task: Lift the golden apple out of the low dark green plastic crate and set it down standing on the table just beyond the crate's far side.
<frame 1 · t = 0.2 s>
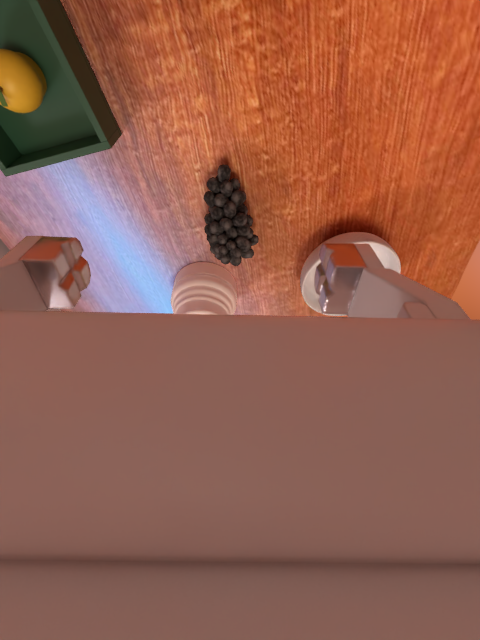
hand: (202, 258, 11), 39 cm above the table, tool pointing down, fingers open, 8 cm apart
cereal bowl: (341, 258, 58), on the table
apple: (25, 76, 37), point 1 cm above the table, touching crate
crate: (28, 75, 38), on the table
fruit: (231, 205, 50), on the table
honey pot: (205, 286, 63), on the table
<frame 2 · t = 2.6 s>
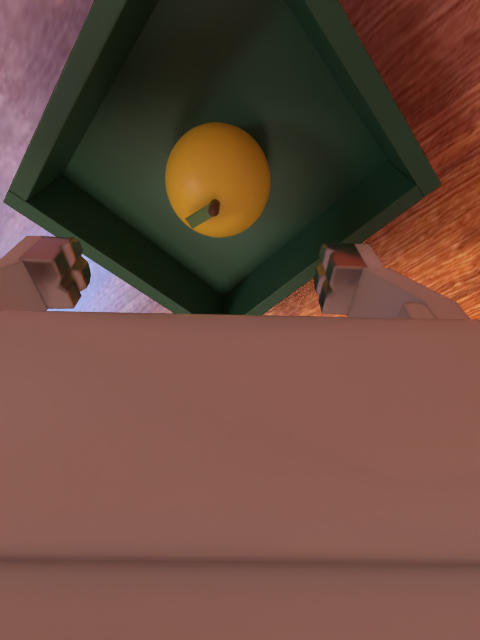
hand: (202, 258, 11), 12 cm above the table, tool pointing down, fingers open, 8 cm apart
apple: (221, 167, 19), point 1 cm above the table, touching crate
crate: (222, 163, 20), on the table
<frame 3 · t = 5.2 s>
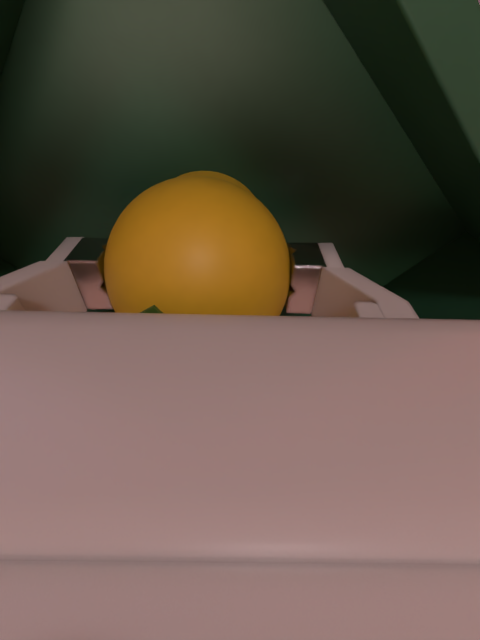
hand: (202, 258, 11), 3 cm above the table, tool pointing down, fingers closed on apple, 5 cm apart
apple: (208, 231, 12), point 1 cm above the table, touching crate, gripper
crate: (209, 222, 13), on the table
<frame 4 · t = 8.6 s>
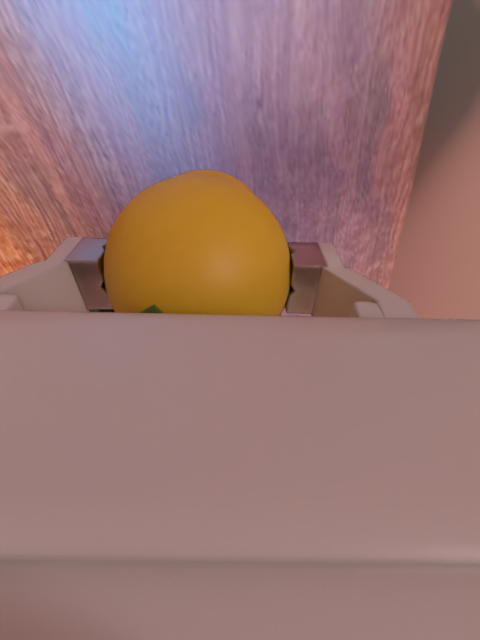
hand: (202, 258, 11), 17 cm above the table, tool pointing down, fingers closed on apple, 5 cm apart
apple: (208, 230, 12), point 15 cm above the table, touching gripper
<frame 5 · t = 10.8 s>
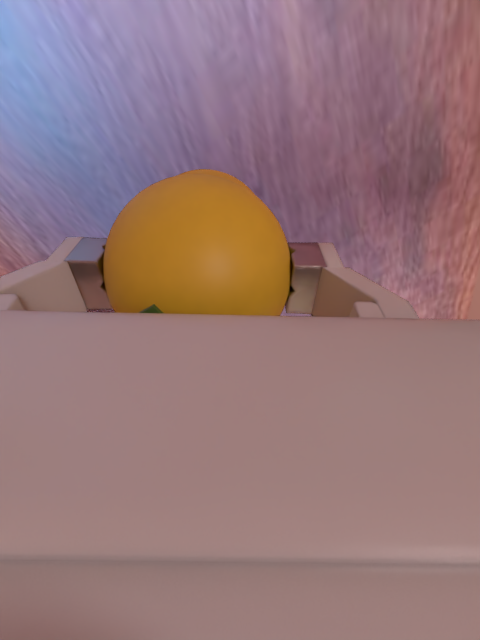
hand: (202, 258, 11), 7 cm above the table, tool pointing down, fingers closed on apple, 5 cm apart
apple: (208, 230, 12), point 5 cm above the table, touching gripper
when the fingers open (2 cm above the table, at t = 12.5 s): apple stays where it is, on the table.
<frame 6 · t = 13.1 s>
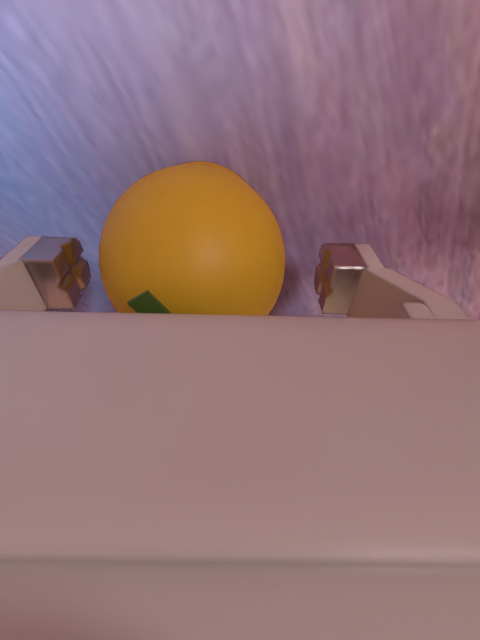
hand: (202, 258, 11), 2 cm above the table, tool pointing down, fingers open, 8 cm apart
apple: (204, 223, 12), on the table
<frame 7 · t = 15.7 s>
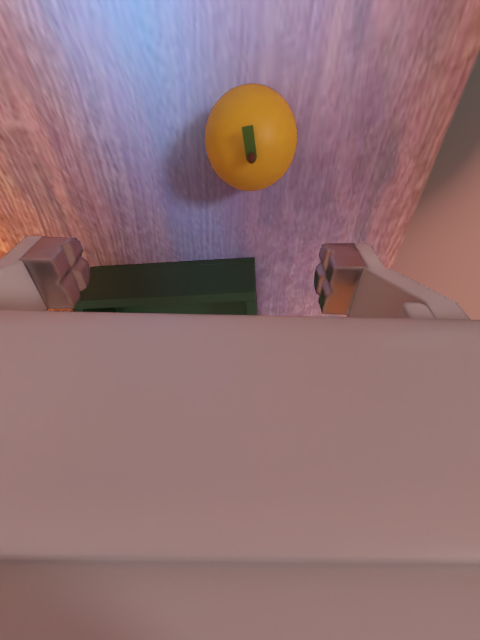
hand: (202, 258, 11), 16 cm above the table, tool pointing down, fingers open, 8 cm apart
apple: (250, 130, 22), on the table
crate: (188, 325, 35), on the table
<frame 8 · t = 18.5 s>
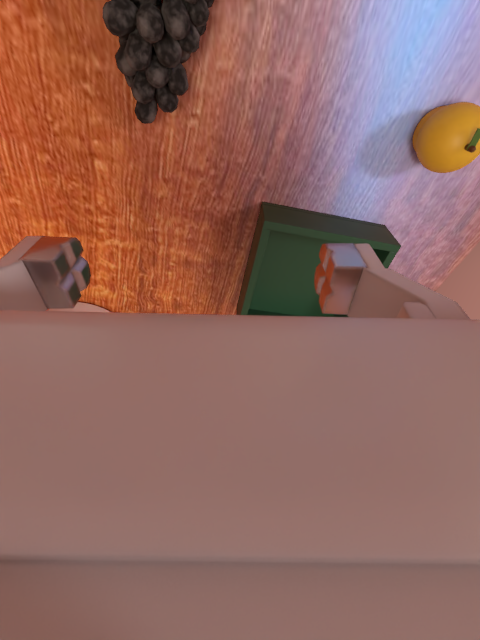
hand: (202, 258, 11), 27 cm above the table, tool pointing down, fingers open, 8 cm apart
apple: (436, 132, 32), on the table
crate: (302, 270, 43), on the table
fruit: (160, 17, 26), on the table
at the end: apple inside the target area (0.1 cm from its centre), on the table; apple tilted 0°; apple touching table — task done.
